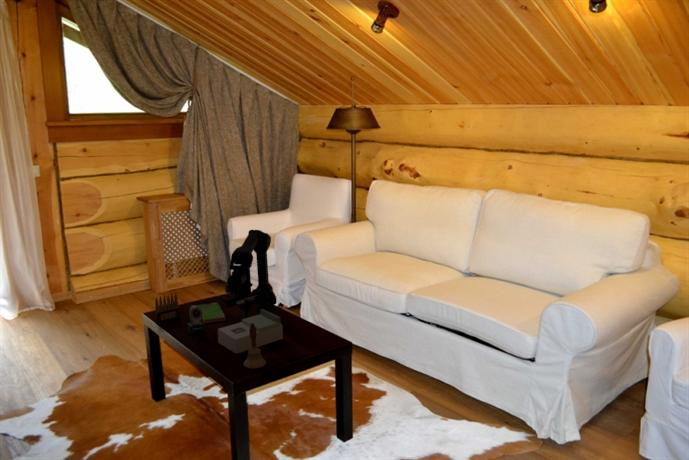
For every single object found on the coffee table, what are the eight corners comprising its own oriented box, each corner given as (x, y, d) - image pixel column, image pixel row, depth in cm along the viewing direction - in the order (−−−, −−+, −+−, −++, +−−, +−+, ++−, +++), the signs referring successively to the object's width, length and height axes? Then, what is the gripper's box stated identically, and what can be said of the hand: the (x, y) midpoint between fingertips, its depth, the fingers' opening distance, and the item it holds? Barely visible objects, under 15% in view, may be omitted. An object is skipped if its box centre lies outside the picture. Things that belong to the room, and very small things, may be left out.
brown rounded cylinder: (240, 342, 235) (240, 329, 233) (245, 344, 232) (244, 331, 231) (233, 344, 232) (232, 331, 231) (237, 347, 230) (237, 334, 229)
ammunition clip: (178, 317, 262) (176, 292, 259) (180, 318, 261) (178, 293, 258) (155, 322, 255) (153, 297, 253) (157, 324, 254) (155, 298, 251)
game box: (203, 326, 254) (197, 308, 273) (225, 322, 258) (217, 306, 276) (203, 319, 254) (196, 302, 272) (225, 316, 257) (217, 300, 276)
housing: (264, 328, 248) (263, 315, 247) (282, 338, 237) (282, 325, 236) (218, 342, 234) (217, 329, 233) (236, 353, 224) (235, 339, 222)
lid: (263, 316, 246) (263, 309, 245) (280, 324, 236) (280, 317, 235) (242, 322, 239) (241, 315, 238) (258, 331, 230) (258, 323, 229)
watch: (192, 335, 242) (190, 310, 239) (186, 328, 248) (184, 304, 246) (205, 332, 245) (203, 307, 242) (199, 326, 251) (197, 302, 249)
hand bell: (256, 370, 210) (254, 329, 206) (239, 365, 214) (237, 325, 210) (270, 361, 217) (269, 322, 213) (253, 357, 221) (252, 317, 217)
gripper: (252, 271, 240) (254, 306, 244) (212, 280, 229) (214, 317, 232) (267, 277, 232) (269, 313, 236) (226, 287, 220) (228, 325, 224)
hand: (245, 317), depth 232 cm, fingers closed
